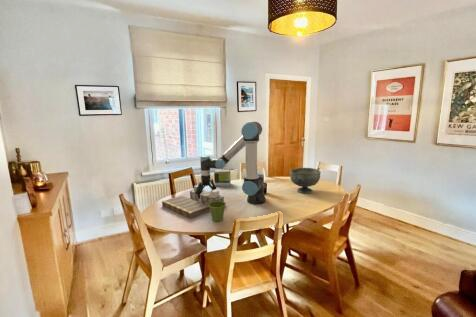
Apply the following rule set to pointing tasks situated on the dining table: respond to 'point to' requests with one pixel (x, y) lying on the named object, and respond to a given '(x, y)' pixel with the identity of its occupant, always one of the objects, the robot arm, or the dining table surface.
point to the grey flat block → (186, 206)
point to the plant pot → (217, 210)
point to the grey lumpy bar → (205, 197)
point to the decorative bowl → (305, 178)
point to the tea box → (222, 177)
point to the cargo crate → (214, 193)
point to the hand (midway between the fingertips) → (206, 199)
